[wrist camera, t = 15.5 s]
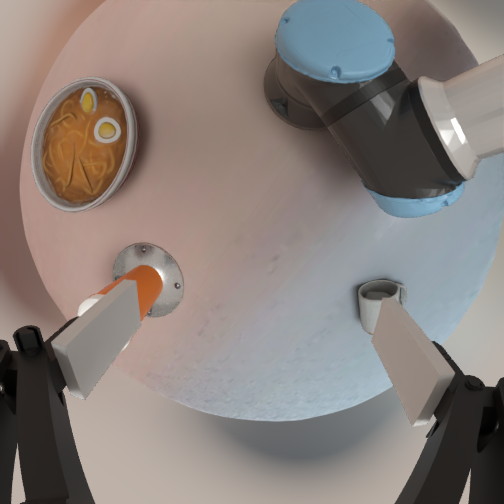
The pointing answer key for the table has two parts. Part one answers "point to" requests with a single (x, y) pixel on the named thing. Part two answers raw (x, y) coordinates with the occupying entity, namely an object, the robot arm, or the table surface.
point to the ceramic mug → (377, 300)
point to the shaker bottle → (146, 289)
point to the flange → (162, 265)
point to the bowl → (84, 144)
